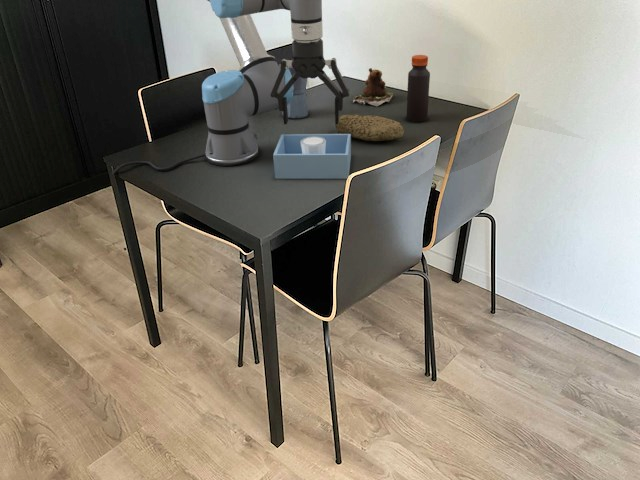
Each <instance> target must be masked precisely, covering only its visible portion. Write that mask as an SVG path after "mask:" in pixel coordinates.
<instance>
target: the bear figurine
mask: <svg viewBox="0 0 640 480" xmlns="http://www.w3.org/2000/svg"><path fill="white" fill-rule="evenodd" d="M368 72H369V74H368V75H367V79H366V80H365V81H364V83H365V85H366V87H364V88H363V91H362V93H360V95H359V94H358V95H356V96H354V97H353V99H352V103H355V102H357V103H358V104H360V105H364V106H365V104H369V105H371V106H375V107H378V106H380V105H382V104H383V103H385V102H387V103H389V102H390V101H391V100H392V98H393V96H394V92H389V90H386V89H387V85H386V82H385V81H384V80H383V78H382V76H383V72H382V71H381V70H380V69H373V68H372V67H370V68H368Z"/></svg>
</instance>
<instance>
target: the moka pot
mask: <svg viewBox="0 0 640 480" xmlns="http://www.w3.org/2000/svg"><path fill="white" fill-rule="evenodd" d="M291 57H292V59H289V60H290V61H293V54H292V55H291ZM277 64H278V63H277ZM279 65H281V63H279V64H278V66H279ZM289 71H290V73H291V75H292V76H293V75H294V73H295V72H296V71H295V69H294V68H293V67H292V66H290V67H289ZM307 85H308V78H306V79H303V78H302V77H300V76H299V78H298V79H297V80H296V81H295V83H294V84H293V86H294V90H293V96H292V99H291V101H290V103H289V104H288V105H287V112H288V119H301V118H306V117H307V116H308V115H309V107H308V101H307V93H306V92H307V91H306V90H307V89H306V88H307ZM281 114H282V115H283V111H281Z"/></svg>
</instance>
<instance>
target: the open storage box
mask: <svg viewBox="0 0 640 480" xmlns="http://www.w3.org/2000/svg"><path fill="white" fill-rule="evenodd" d="M312 136H318V137H322V138H324V139H325V140H326V148H325V154H302V148H301V140H302V139H304V138H306V137H312ZM272 157H273V168H274V169H273V170H274V179H277V180H278V179H279V180H281V179H282V180H284V179H285V180H286V179H287V180H288V179H289V180H290V179H292V180H293V179H295V180H299V179H300V180H302V179H304V180H309V179H311V180H313V179H315V180H316V179H317V180H318V179H319V180H322V179H324V180H325V179H326V180H329V179H330V180H331V179H333V180H334V179H335V180H336V179H338V180H339V179H340V180H342V179H345V180H346V179H347V177H348V176H349V177H350V171H351V170H350V169H351V159H352V137H351V134H340V133H290V134H287V133H286V134H281V135H280V137H279V139H278V141H277V144H276V147H275V149H274V152H273V154H272ZM347 180H348V179H347Z"/></svg>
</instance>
